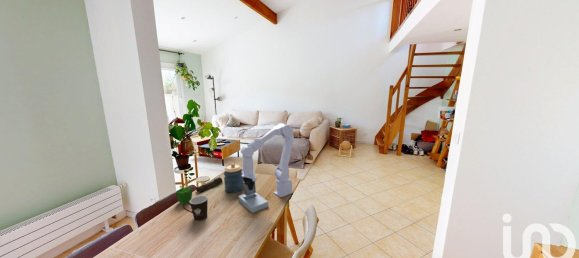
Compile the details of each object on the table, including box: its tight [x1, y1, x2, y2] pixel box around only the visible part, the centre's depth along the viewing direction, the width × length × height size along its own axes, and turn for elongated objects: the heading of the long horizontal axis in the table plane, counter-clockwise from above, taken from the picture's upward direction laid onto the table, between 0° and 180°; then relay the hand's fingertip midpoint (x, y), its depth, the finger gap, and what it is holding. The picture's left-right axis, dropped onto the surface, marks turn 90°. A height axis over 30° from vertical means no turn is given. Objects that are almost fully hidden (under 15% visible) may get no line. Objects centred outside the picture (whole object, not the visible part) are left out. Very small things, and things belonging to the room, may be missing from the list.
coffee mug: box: [182, 194, 209, 222], centre depth 110 cm, size 12×9×10 cm
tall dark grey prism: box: [243, 182, 257, 196], centre depth 123 cm, size 6×3×7 cm, turn 128°
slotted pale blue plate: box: [238, 192, 269, 214], centre depth 122 cm, size 10×17×3 cm, turn 38°
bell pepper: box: [175, 185, 193, 205], centre depth 126 cm, size 8×8×10 cm
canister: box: [222, 162, 245, 193], centre depth 141 cm, size 13×13×18 cm
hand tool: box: [195, 177, 223, 194], centre depth 145 cm, size 19×4×5 cm, turn 139°
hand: (249, 188), depth 123 cm, fingers closed on tall dark grey prism, 3 cm apart
